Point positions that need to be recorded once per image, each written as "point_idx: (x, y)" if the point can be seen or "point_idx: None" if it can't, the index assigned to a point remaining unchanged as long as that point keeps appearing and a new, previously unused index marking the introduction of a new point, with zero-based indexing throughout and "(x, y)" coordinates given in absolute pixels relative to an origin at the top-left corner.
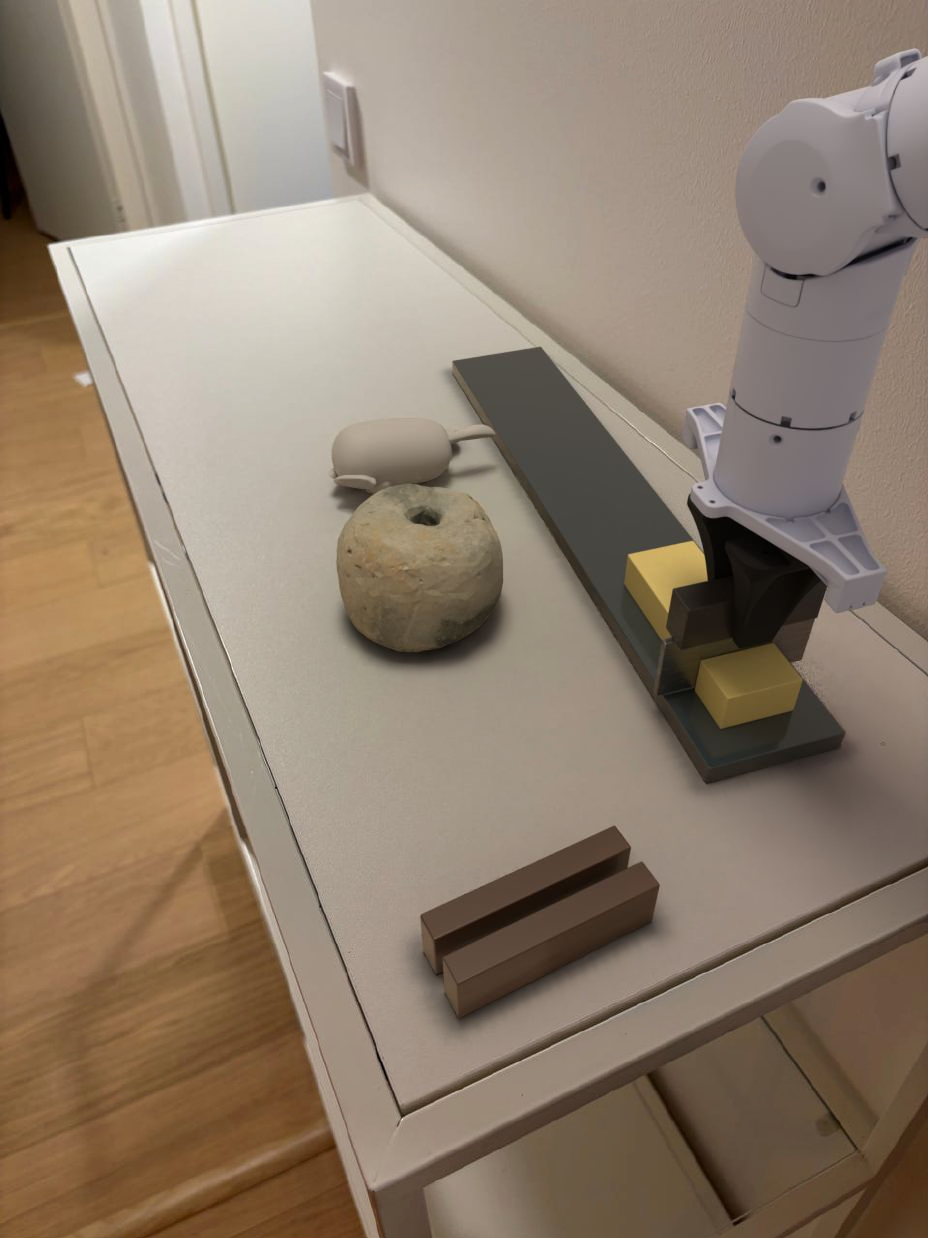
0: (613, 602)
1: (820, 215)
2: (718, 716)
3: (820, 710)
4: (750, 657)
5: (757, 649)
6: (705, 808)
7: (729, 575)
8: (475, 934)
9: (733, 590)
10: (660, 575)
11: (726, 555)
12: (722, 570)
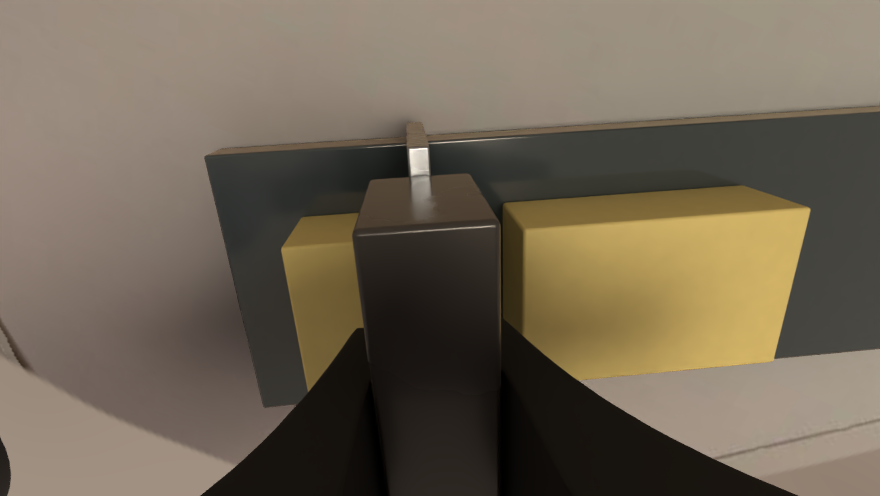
0: (704, 142)
1: None
2: (312, 222)
3: None
4: None
5: None
6: (163, 124)
7: (511, 429)
8: None
9: (424, 418)
10: (706, 254)
11: (540, 486)
12: (519, 425)
